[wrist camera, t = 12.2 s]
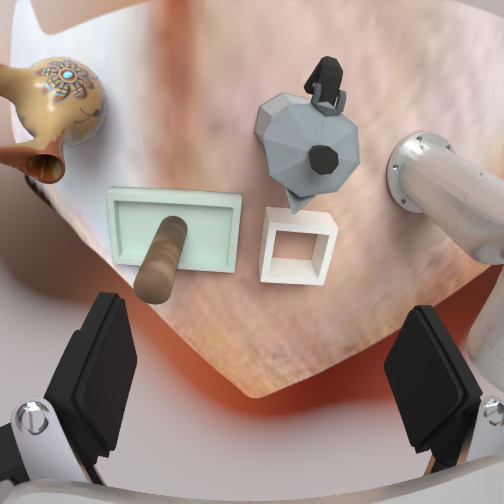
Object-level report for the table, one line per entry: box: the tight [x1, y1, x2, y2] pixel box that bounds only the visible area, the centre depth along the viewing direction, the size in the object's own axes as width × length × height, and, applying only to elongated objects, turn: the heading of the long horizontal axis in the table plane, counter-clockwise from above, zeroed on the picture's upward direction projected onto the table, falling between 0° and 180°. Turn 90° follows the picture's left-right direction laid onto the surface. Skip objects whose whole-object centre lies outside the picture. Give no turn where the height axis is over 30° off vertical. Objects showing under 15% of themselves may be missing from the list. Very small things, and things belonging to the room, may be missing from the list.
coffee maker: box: [254, 56, 360, 214], centre depth 30 cm, size 15×9×18 cm, turn 168°
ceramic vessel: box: [0, 57, 107, 184], centre depth 23 cm, size 16×9×25 cm, turn 34°
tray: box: [106, 187, 242, 273], centre depth 43 cm, size 18×11×2 cm, turn 84°
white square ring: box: [258, 207, 338, 285], centre depth 44 cm, size 9×9×5 cm
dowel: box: [133, 216, 188, 304], centre depth 38 cm, size 4×4×14 cm
